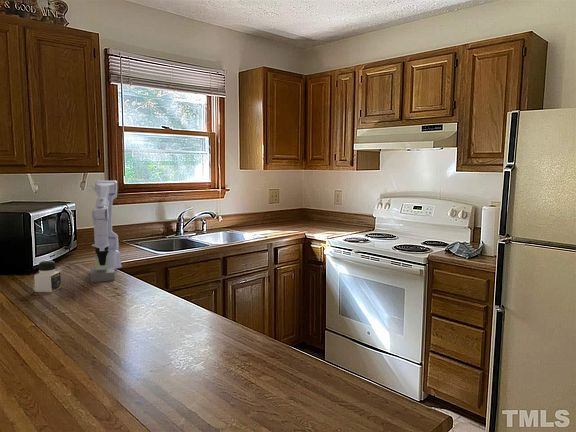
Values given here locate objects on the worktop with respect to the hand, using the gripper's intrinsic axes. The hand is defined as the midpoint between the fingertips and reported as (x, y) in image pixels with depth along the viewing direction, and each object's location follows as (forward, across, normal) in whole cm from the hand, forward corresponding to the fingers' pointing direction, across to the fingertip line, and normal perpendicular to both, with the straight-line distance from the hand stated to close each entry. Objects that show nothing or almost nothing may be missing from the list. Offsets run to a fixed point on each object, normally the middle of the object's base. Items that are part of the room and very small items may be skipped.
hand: (102, 263), depth 201 cm
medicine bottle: (+7, +11, -21) cm, 25 cm away
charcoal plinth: (+7, 0, 0) cm, 7 cm away
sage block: (+2, 0, 0) cm, 2 cm away
